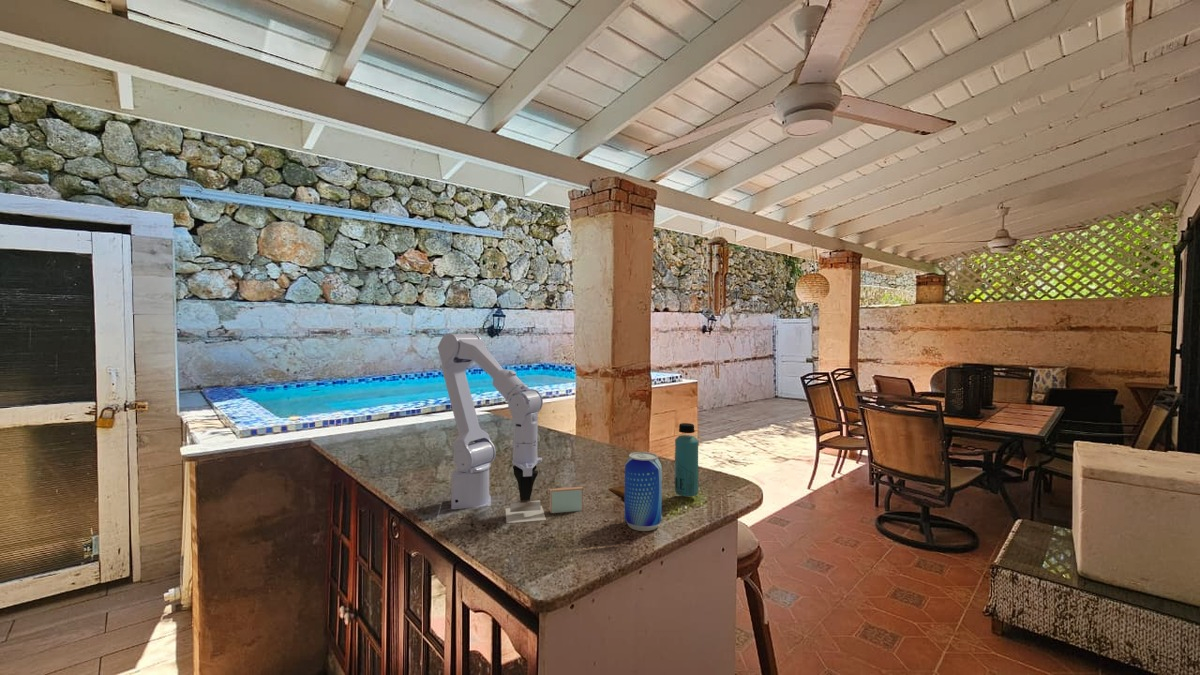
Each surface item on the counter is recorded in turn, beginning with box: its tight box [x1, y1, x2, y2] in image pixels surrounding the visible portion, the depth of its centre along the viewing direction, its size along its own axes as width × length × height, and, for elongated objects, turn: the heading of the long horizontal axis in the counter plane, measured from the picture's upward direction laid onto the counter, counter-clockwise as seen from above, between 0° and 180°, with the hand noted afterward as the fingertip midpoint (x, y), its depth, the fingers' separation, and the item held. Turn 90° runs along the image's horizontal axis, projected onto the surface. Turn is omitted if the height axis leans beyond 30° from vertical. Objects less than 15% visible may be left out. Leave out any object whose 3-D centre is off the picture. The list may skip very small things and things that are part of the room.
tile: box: [549, 486, 584, 514], centre depth 113 cm, size 8×1×6 cm, turn 103°
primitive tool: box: [608, 484, 625, 499], centre depth 123 cm, size 19×6×4 cm, turn 24°
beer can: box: [624, 451, 663, 532], centre depth 106 cm, size 8×8×16 cm
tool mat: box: [505, 505, 547, 524], centre depth 111 cm, size 9×9×1 cm
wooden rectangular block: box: [509, 497, 541, 512], centre depth 110 cm, size 7×3×7 cm, turn 103°
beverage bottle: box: [673, 422, 700, 497], centre depth 124 cm, size 6×7×20 cm
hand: (524, 497), depth 111 cm, fingers closed on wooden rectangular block, 2 cm apart
